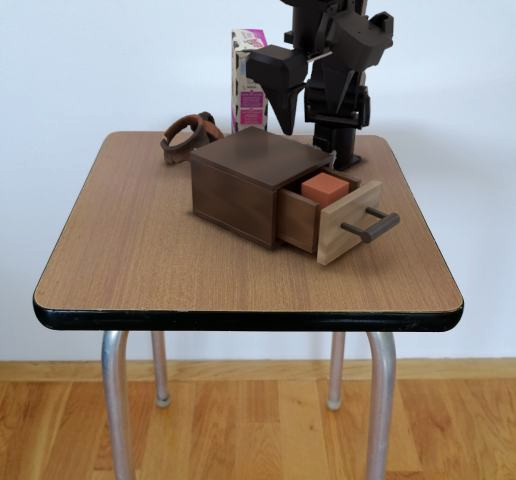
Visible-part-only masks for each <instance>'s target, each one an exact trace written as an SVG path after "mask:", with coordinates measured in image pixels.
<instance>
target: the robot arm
mask: <svg viewBox="0 0 516 480" xmlns="http://www.w3.org/2000/svg"><path fill="white" fill-rule="evenodd" d="M279 1H280V2H281V3H283V4H285V5H286V6H289V7H292V14H291V15H292V17H291V30H288V31H285V32H284V33H283V43H286V44H289V45H291V46H292V49H290V48H287V47H283V46H280V45H277V44H272V43H271V44H268V46H265V47H262V48H259V49H257V50H254V51H251V52H250V54H249V55H248V56H247V57H246V58H245V76H246V78H249V79H252V80H253V82H254V83H256V84H260V86H261V88H262V90H263V91H264V93H265V95H266V97H267V99H268V103H269V104H270V108H271V110H272V111H273V113H274V116H275V118H276V120H277V122H278V125H279V127H280V129H281V131H282V133H283V135H284V136H288V137H291V136H293V133H294V128H295V124H296V115H297V109H298V107H297V106H298V100H299V99H298V98H299V94H300V93H301V92H302V91H303V90H304V91H303V112H304V113H303V114H304V115H303V118H304V123H307V124H309V123H311V124H314V125H313V126H314V127H313V128H314V129H313V135H312V143H311V145H315V146H317V147H318V148H321V151H324V152H326V153H332V151H333V150H335V151H336V159H335V161H334V164H333V169H334V170H337V171H339V172H343V171H345V170H346V169H348V168H350V167H352V166H353V165H355V164H357V163H359V162H361V161H362V156H361V155H358V154H355V153H354V152H355V151H354V150H355V144H356V133H357V131H363V128H366V127H369V126H370V121H371V113H372V105H371V104H372V102H371V97H370V94H369V88H368V87H369V86H368V85H366V80H367V73H366V70H367V69H369V68H371V67H376V66H378V65H379V64H380V62H381V59H382V57H383V55H384V53H385V51H386V50H388V49H390V48H392V47H394V40H393V37H394V34H395V33H394V27H395V17H394V16H393V15H391V14H390V13H389V12H387V11H385V10H384V11H380V12H378V13H375V14H374V15H373V16H372V17H370V16H369V15H368V14H366V13H367V8H368V7H367V6H368V2H369V1H368V0H279ZM369 18H370V19H369ZM309 63H312V66H311V72H310V78H307V76H308V75H309ZM306 78H307V80H306ZM305 80H306V82H305Z"/></svg>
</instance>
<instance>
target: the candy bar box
mask: <svg viewBox="0 0 516 480" xmlns="http://www.w3.org/2000/svg"><path fill="white" fill-rule="evenodd" d="M230 33H231V34H230V35H231V36H230V37H231V57H230V58H231V61H230V62H231V63H230V65H231V66H230V67H231V68H230V69H231V70H230V71H231V72H230V73H231V74H230V80H231V81H230V83H231V85H230V94H231V95H230V98H231V99H230V107H231V108H230V109H231V110H230V113H231V114H230V119H231V120H230V121H231V122H230V124H231V125H230V127H231V128H230V129H231V131H230V132H231V133H230V135H231V134H233V133H236V132H238V131H241V130H243V129H245V128H248V127H250V126H254V127H257V128H260V129H262V130H265V131H268V120H269V100H268V99H267V97H266V95H265V93H264V91H263V90H262V88H261V86H260V84H256V83H254V82H253V80H252V79H249V78H246V76H245V58H246V57H247V56H248V55H249V54H250V52H251V51H254V50H257V49H259V48H262V47H265V46H268V45H269V44H268V41H267V38H266V35H265V32H264V29H259V28H257V29H256V28H240V29H239V28H238V29H237V28H236V29H234V28H233V29H231V31H230Z"/></svg>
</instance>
